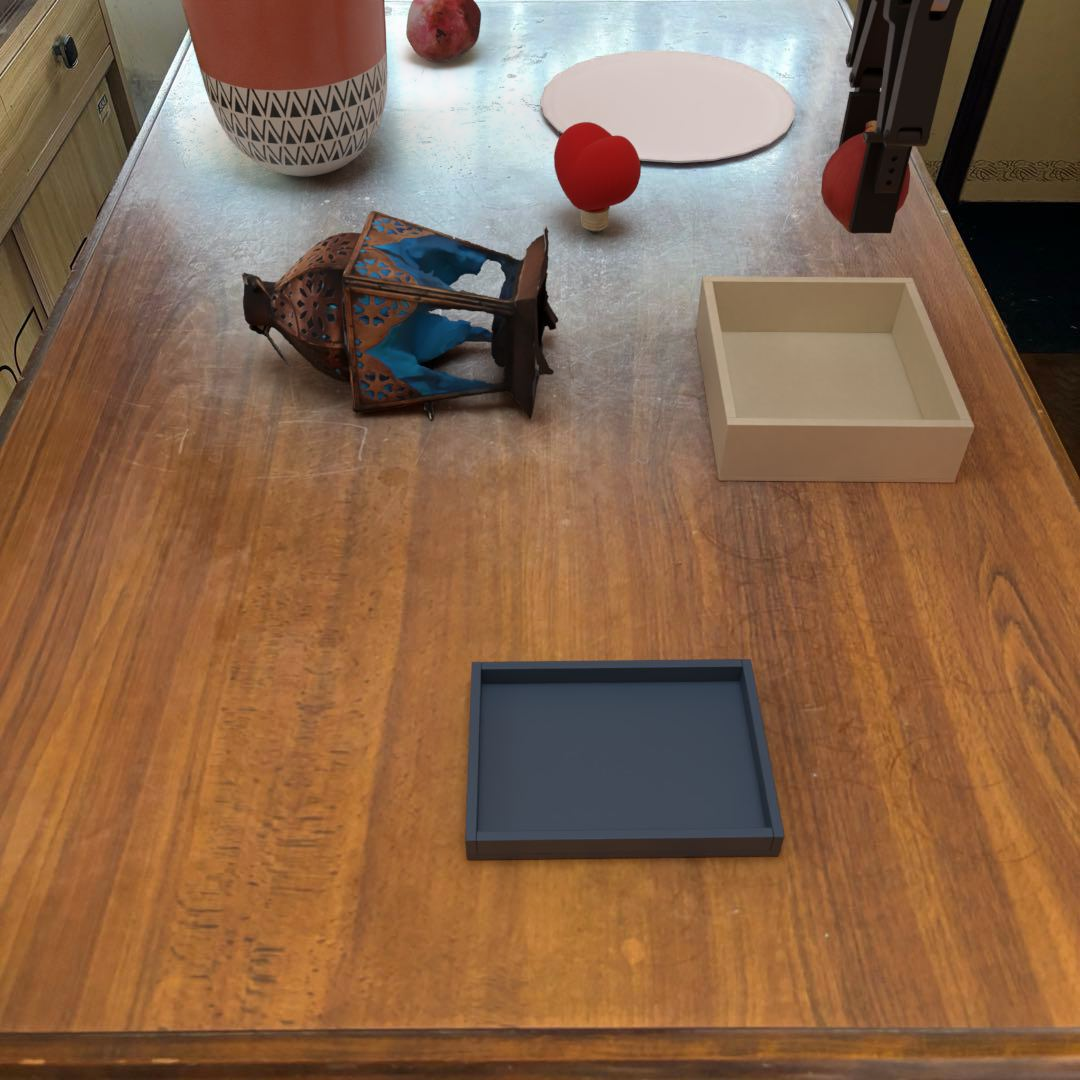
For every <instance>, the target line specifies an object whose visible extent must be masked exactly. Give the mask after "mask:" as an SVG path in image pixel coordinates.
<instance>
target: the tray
mask: <svg viewBox="0 0 1080 1080" xmlns="http://www.w3.org/2000/svg"><path fill="white" fill-rule="evenodd" d="M470 668H471V669H470V695H469V721H468V722H469V724H468V748H467V749H468V750H467V751H468V752H467V778H466V779H467V780H466V804H465V805H466V806H465V807H466V808H465V833H464V843H465V853H466V860H467V861H481V860H483V861H484V860H485V861H486V860H556V859H557V860H559V859H560V860H561V859H564V860H565V859H567V860H569V859H638V858H639V859H640V858H643V859H645V858H646V859H647V858H715V857H719V858H720V857H724V858H726V857H778V856H780V853H781V849H782V846H783V844H784V840H785V837H786V836H785V830H784V825H783V820H782V814H781V810H780V803H779V799H778V794H777V793H778V792H777V788H776V783H775V777H774V772H773V767H772V762H771V757H770V751H769V746H768V741H767V737H766V730H765V725H764V719H763V716H762V715H763V714H762V711H761V710H762V709H761V704H760V701H759V694H758V689H757V684H756V677H755V673H754V672H755V671H754V669H753V662H752V659H751V658H742V659H741V658H715V659H714V658H712V659H710V658H709V659H705V658H703V659H621V660H619V659H611V660H605V659H604V660H603V659H602V660H523V661H522V660H521V661H519V660H518V661H517V660H516V661H515V660H513V661H510V660H509V661H471V666H470Z"/></svg>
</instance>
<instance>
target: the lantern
mask: <svg viewBox="0 0 1080 1080" xmlns="http://www.w3.org/2000/svg"><path fill="white" fill-rule="evenodd" d="M542 229H543V234H541V235H539V236H538V237H536V238H535V239H534V240H533V241H531V243H530V244H529V246H528V247H527V248H526V249H525V255H524V257H523V258H522V259H518V258H516V257H513V256H512V255H510V254H508V253H503V252H500V251H497V250H494V249H490V248H488V247H485V246H483V245H481V244H477V243H473V242H471V241H469V240H466V239H462V238H459V237H453V236H452V235H450V234H447V233H444V232H441V231H438V230H435V229H432V228H429V227H427V226H423V225H420V224H417V223H413V222H409V221H407V220H405V219H401V218H399V217H394V216H391V215H388V214H385V213H383V212H380V211H375V210H370V212H369V213H368V214H367V219H366V221H365V223H364V226H363V227H362V231H361V232H352V231H349V232H348V231H347V232H340V233H337V234H334V235H330V236H328V237H326V238H325V239H322V240H321V241H319V242H317V243H316V244H315V245H314V246H313V247H311V248H309V250H308V251H307V252H306V253H305V254H304V255H302V257H300V258H299V259H298V261H296V262H295V263H294V264H293V265H292V267H291V268H289V270H288V271H287V272H286V273H285V274H284V275H283V276H282V277H281V278H280V279H278V280H277V281H267V280H262V279H261V277H260V276H258V275H254V274H252V273H247V272H242V273H241V277H242V281H243V296H242V310H243V317H244V321H245V322H246V324H247V325H248V328H249V330H250V331H253V332H254V333H256V334H258V335H263V336H264V337H266V339H267V340H268V341H269V344H270V345H271V347H272V348H273V350H274V351H275V352H276V353H277V355H278V356H279V357H280V358H281V360H283V362H284V363H285V364H286V366H289V367H290V366H292V362H290V361H288V359H287V358H286V357H285V356H284V354H283V353H282V351H281V349H280V347H279V346H278V344H276V343H275V341H274V339H273V338H272V337H271V335H270V331H271V328H273V329H275V330H276V331H277V332H278V333H279V334H280V335H281V336H282V337H283V339H284V340H286V341H287V342H288V344H289V345H291V346H292V347H293V348H294V349H295V350H296V351H297V352H298V353H299V355H301V356H302V357H303V358H304V360H306V361H307V362H308V363H309V364H310V365H311V366H312V367H313V368H314V369H316V370H317V371H319V372H320V373H322V374H323V375H325V376H327V377H329V378H331V379H333V380H335V381H339V382H341V383H350V388H351V389H350V390H351V408H352V412H353V413H354V414H363V413H369V412H374V411H382V410H389V409H398V408H404V407H406V406H409V405H418V404H421V403H422V404H424V406H423V410H424V411H427V415H428V419H429V420H430V421H433V420H434V416H435V411H434V408H433V405H434V404H435V403H439V402H441V401H447V400H455V399H458V398H464V397H472V396H473V397H474V396H480V395H484V394H496V393H508V394H510V395H511V397H512V398H513V399H514V400H515V401H516V402H517V403H518V404H519V406H521V408H522V410H523V412H524V413H525V414H526V416H527V417H528V419H529V420H531V419H532V417H533V413H534V407H535V400H536V394H537V388H538V387H537V386H538V382H539V380H540V376H544V375H549V376H552V375H553V376H554V374H555V371H554V370H553V368H551V367H550V365H549V363H548V360H547V359H546V357H545V355H544V352H543V351H544V341H543V336H544V332H545V329H546V327H548V330H549V331H553V330H556V329H557V323H558V322H559V318H558V316H557V315H556V313H555V311H554V310H553V308H552V306H551V305H550V303H549V301H548V300H549V295H548V291H547V281H548V275H549V272H548V268H549V245H550V242H549V229H548V226H546V225H544V226H542ZM486 261H490V262H495V263H498V264H499V265H500V270H501V272H502V273H503V274H504V277H505V278H504V279H505V280H504V281H503V284H502V286H501V287H500V292H499V296H498V297H493V296H488V295H484V294H477V293H476V292H472V291H466V290H464V289H461V290H456V289H455V288H453V287H451V286H452V285H453V284H454V283H457V282H458V281H459V279H460V278H461V277H462V276H464V275H475V276H478V274H480V272H481V271H482V267H483V265H485V263H486ZM436 310H440V311H451V310H456V311H468V312H483V313H486V314H488V315H489V314H490V315H493V319H492V323H491V326H490V327H491V329H490V330H491V331H490V330H489V329H488V328H486V327H483V326H476V325H475V326H474V325H471V324H472V322H471V321H468V320H464V319H461V318H460V319H458V320H450V319H449V318H448V317H447V316H445V315H441V314H439V313H432V312H434V311H436ZM466 342H467V343H469V342H470V343H490V353H491V357H492V359H493V360H494V364H495V365H496V366H498V367H499V368H503V378H502V382H498V383H493V382H486V381H485V380H480V379H479V380H478V379H476V378H474V379H468V378H463V377H458V376H456V375H451V374H449V373H447V372H445V371H444V370H442V371H441V370H440V371H435V370H432V369H430V367H426V366H423V365H421V364H422V363H425V362H429V361H431V360H433V359H436V358H438V357H440V356H442V355H444V354H445V353H447V352H449V351H450V350H453V349H454V348H455V347H457V346H459V345H460V346H461V345H462V344H464V343H466Z"/></svg>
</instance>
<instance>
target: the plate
mask: <svg viewBox="0 0 1080 1080" xmlns="http://www.w3.org/2000/svg"><path fill="white" fill-rule="evenodd" d="M542 90H543V91H542V94H541V97H540V101H539V102H540V107H541V110H542V113H543V116H544V118H545V120H546V121H547V122H548V123H549V124H550V125H551V126H552V127H553V128H554V130H556V131H557V132H558V133H559V134H561V135H562V134H563V133H564V132H565V130H566V129H568V128H569V127H571V126H573V125H574V124H578V123H582V122H591V123H595V124H597V125H599V126H601V127H602V128H604V129H605V130H606V131H608V132H609V133H610V134H611V135H612V136H623V137H625V138H626V139H628V140H629V141H630V142H631V143H632V145H633V146H634V148H635V149H636V151H637V154H638V157H639V160H640V162H641V161H642V162H653V163H654V162H655V163H657V162H658V163H672V164H673V163H674V164H684V163H699V162H701V163H702V162H703V163H704V162H714V161H718V160H725V159H729V158H734V157H739V156H744V155H747V154H750V153H751V152H754V151H756V150H759V149H761V148H764V147H766V146H770V145H771V144H773V143H774V142H775V141H776V140H778V139H779V138H781V137H782V136H783V135H784V134H786V133H787V132H788V130H789V129H790V127H791V125H792V123H793V122H794V120H795V118H796V110H795V109H796V108H795V101H794V99H793V98H792V96H791V95H790V93H789V92H788V90H787V89H786V87H785V86H783V85H782V84H781V83H779V82H778V81H777V80H775V79H774V78H773V77H771V75H769V74H767V73H765V72H762V71H760V70H759V69H756V68H754V67H752V66H749V65H747V64H745V63H742V62H738V61H735V60H731V59H728V58H724V57H721V56H717V55H711V54H705V53H699V52H693V51H682V50H663V49H662V50H661V49H653V50H632V51H623V52H618V53H611V54H606V55H600V56H597V57H593V58H590V59H588V60H584V61H582V62H577V63H575V64H573V65H572V66H570V67H568V68H566V69H565V70H562V71H560V72H558V73H556V75H554V77H553V78H552V79H551V80H550V81H549V82H548V83H547V84H546V85H545V86H544V87H543V89H542Z"/></svg>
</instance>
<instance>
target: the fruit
mask: <svg viewBox="0 0 1080 1080" xmlns="http://www.w3.org/2000/svg"><path fill="white" fill-rule="evenodd" d="M481 23H482V12H481V9H480V7H479V5H478V3H476V1H475V0H412V2H411V4H410V6H409V9H408V13H407V19H406V31H405V32H406V33H405V35H406V38H407V41H408V42H409V45H410V46H411V48H412V50H413V51H414V52H415V53H416V55H418V56H419V57H420V58H423V59H425V60H429V61H433V62H438V63H443V62H451V61H454V60H456V59H457V58H459V57H461V56H462V55H463V54H465V53H468V52H469V50H471V49H472V48H473V47H475V45H476V43H477V42H478V40H479V38H480V37H479V36H480V31H481Z"/></svg>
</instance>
